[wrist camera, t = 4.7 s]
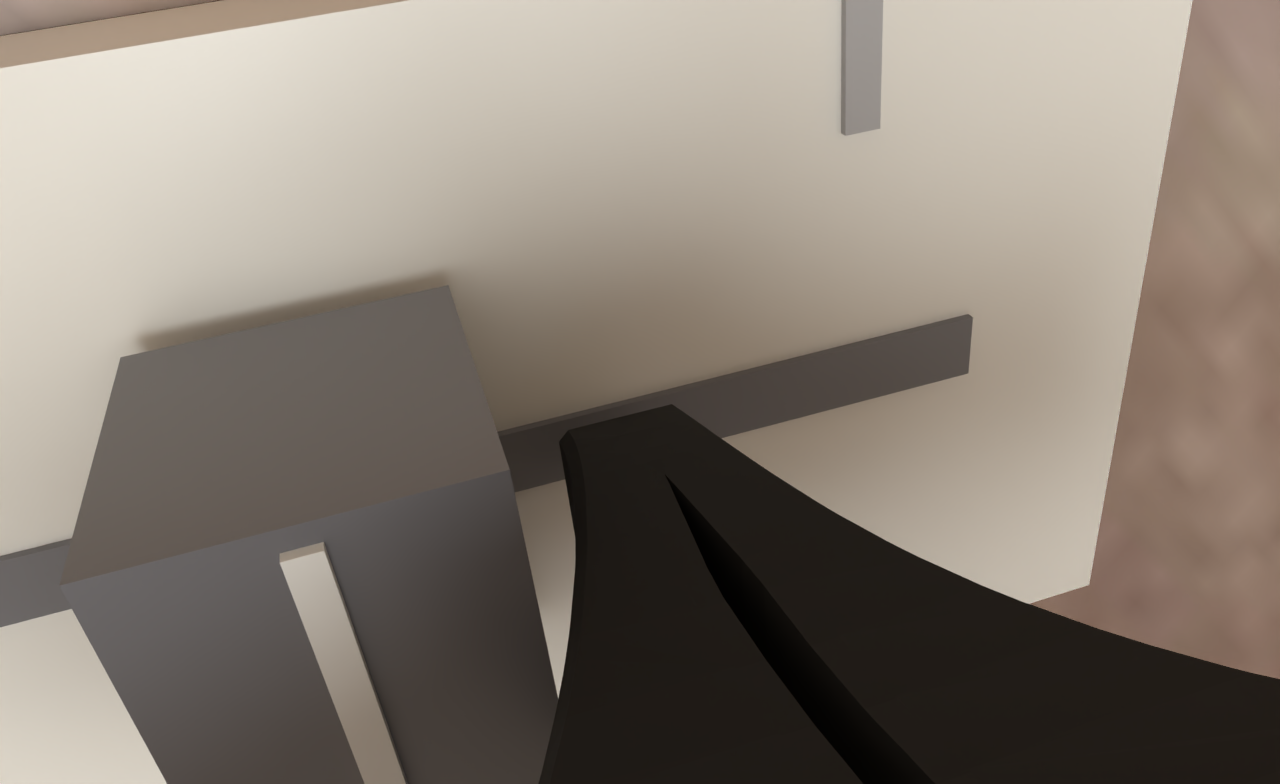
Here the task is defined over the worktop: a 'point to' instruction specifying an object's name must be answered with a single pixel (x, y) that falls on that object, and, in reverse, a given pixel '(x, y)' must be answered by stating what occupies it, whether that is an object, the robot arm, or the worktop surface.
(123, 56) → the mixer panel
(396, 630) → the fader
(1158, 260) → the worktop surface
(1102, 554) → the worktop surface
